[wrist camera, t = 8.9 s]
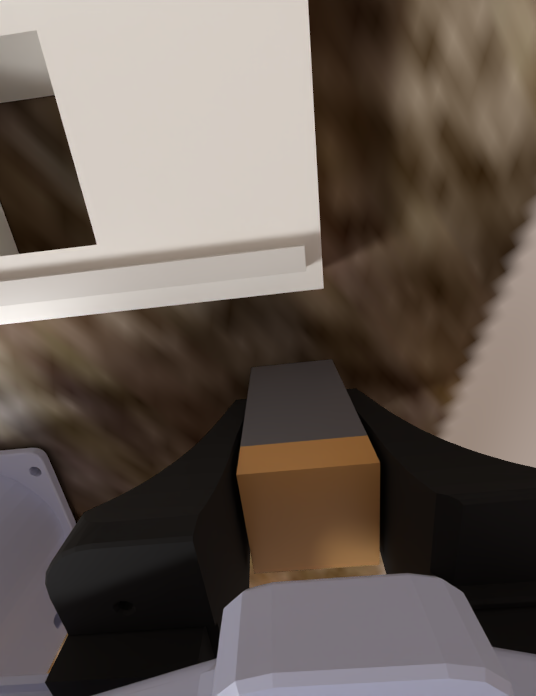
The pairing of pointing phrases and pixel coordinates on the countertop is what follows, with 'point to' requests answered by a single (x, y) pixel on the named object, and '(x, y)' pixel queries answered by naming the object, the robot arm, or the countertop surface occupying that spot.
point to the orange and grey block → (307, 472)
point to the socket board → (169, 151)
